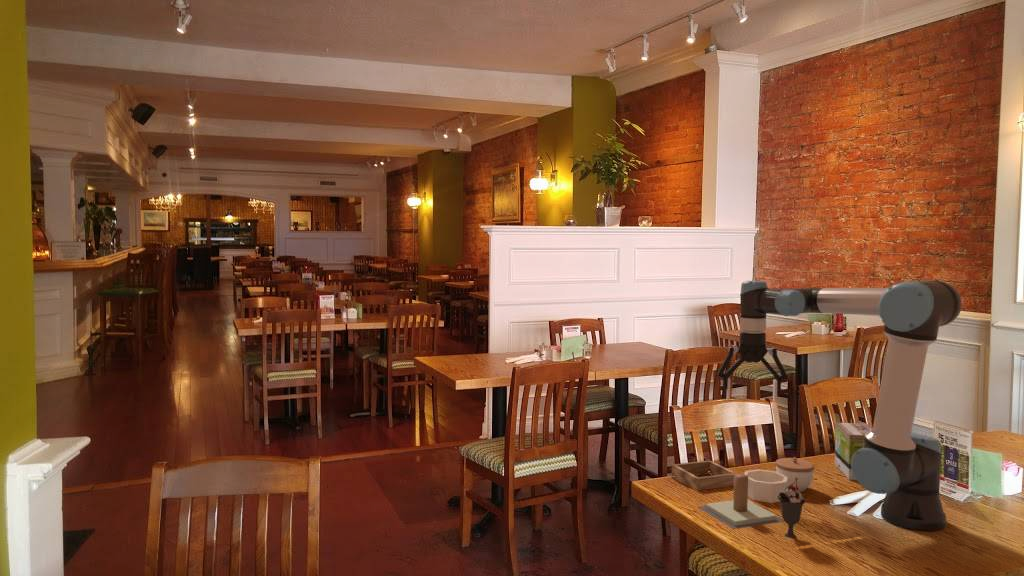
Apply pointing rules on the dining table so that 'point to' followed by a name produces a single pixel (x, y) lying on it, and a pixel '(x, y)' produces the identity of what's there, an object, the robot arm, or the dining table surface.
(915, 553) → the dining table surface
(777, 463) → the lidded jar
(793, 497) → the sundae
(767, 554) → the dining table surface
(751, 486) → the bowl
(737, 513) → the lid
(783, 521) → the mat
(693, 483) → the tray
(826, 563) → the dining table surface
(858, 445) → the tea box
